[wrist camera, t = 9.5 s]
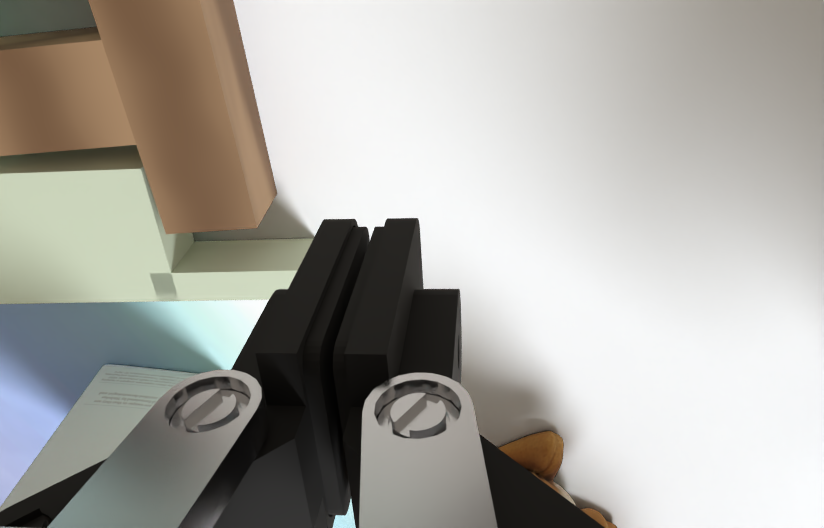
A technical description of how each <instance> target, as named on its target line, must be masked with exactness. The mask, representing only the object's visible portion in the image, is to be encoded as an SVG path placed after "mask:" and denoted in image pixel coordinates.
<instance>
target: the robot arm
mask: <svg viewBox="0 0 824 528" xmlns="http://www.w3.org/2000/svg"><path fill="white" fill-rule="evenodd" d="M460 383H461V303H460V290H459V289H423V275H422V258H421V242H420V227H419V220H418V218H401V219H387V220H386V222H385V225H384V227H375V228H374V231H373V234H372V237H371V240H370V241H369V233H368V229H367V227H358V225H357V222H356V220H355V219H324V220H323V222H322V223H321V225H320V227H319V229H318V231H317V233H316V235H315V237H314V239H313V241H312V243H311V245H310V247H309V249H308V251H307V253H306V255H305V257H304V259H303V261H302V263H301V264H300V266H299V268H298V270H297V272H296V274H295V276H294V278H293V280H292V282H291V284H290V286H289V288H288V289H278V290H275V292H274V293H273V294H272V296H271V298H270V299H269V301H268V303H267V305H266V307H265V309H264V310H263V312H262V314H261V316H260V318H259V320H258V321H257V323H256V325H255V327H254V329H253V331H252V332H251V334H250V336H249V338H248V340H247V342H246V343H245V345H244V347H243V349H242V351H241V353H240V354H239V356H238V358H237V360H236V362H235V364H234V365H233V367H232V369H231V370H214V371H209V372H203V373H200V374H198V375H195V376H192V377H189V378H187V379H185V380H183V381H181V382H180V383H178V384H176V385H175V386H173V387H172V388H171V389H169V390H168V391H167V392H166V393H165V394H164V395H163V396H162V397H161V398H160V399H159V400H158V401H157V402H156V403H155V405H154V406H153V407H152V408H151V409H150V410H149V411H148V413H147V414H146V415H145V416H144V417H143V418H142V419H141V421H140V422H139V423H138V424H137V425H136V426H135V427H134V429H133V430H132V431H131V432H130V433H129V434H128V435H127V437H126V438H125V439H124V440H123V441H122V442H121V443H120V445H119V446H118V447H117V448H116V449H115V450H114V451H113V453H112V454H111V455H110V456H109V457H108V458H107V459H105V460H103V461H101V462H99V463H97V464H94V465H92V466H90V467H88V468H86V469H84V470H82V471H80V472H78V473H76V474H74V475H72V476H70V477H68V478H66V479H64V480H62V481H60V482H58V483H56V484H54V485H52V486H50V487H48V488H46V489H44V490H42V491H40V492H38V493H36V494H34V495H32V496H30V497H28V498H26V499H24V500H22V501H20V502H18V503H16V504H14V505H12V506H10V507H8V508H6V509H4V510H2V511H1V512H0V528H332V527H333V523H334V519H335V515H346V513H347V511H348V507H349V503H350V499H352V506H353V512H354V519H355V525H356V528H605V527H603V526H602V525H601V524H599V523H598V522H597V521H595V520H594V519H593V518H591V517H590V516H589V515H587V514H586V513H585V512H583V511H582V510H581V509H579V508H578V507H577V506H575V505H574V504H573V503H571V502H570V501H568V500H567V499H566V498H564V497H563V496H562V495H560V494H559V493H558V492H556V491H555V490H554V489H552V488H551V487H550V486H548V485H547V484H546V483H544V482H543V481H542V480H540V479H539V478H538V477H536V476H535V475H533V474H532V473H531V472H529V471H528V470H527V469H525V468H524V467H523V466H521V465H520V464H519V463H517V462H516V461H515V460H513V459H512V458H511V457H509V456H508V455H507V454H505V453H504V452H503V451H501V450H500V449H498V448H497V447H496V446H494V445H493V444H492V443H490V442H489V441H488V440H486V439H485V438H484V437H482V436H481V435H480V434H479V430H478V425H477V420H476V415H475V410H474V405H473V402H472V399H471V397H470V395H469V393H468V391H467V390H466V389H465V388H464V387H463V386H461V385H460Z"/></svg>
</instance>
